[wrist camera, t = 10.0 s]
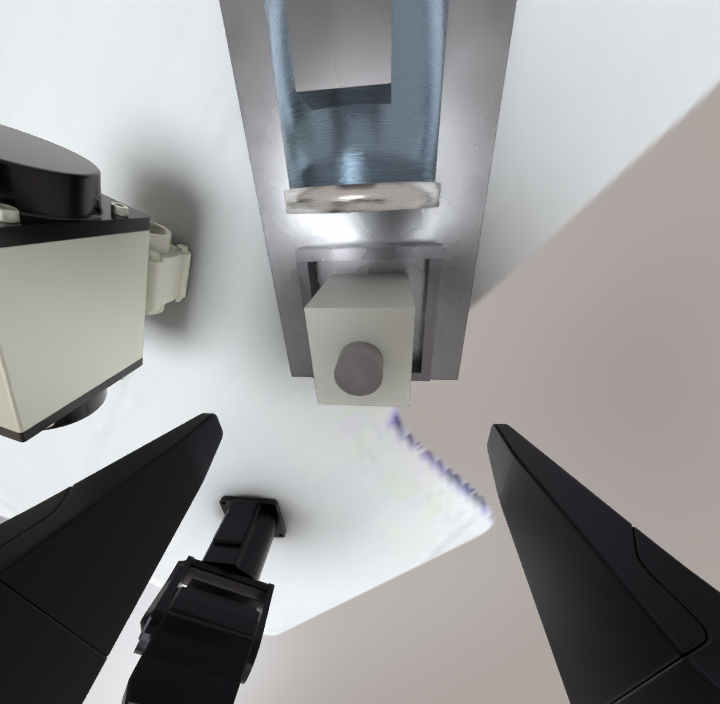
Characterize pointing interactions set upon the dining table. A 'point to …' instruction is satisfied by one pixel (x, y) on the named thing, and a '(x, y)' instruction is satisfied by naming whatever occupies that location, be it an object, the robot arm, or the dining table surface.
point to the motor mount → (372, 150)
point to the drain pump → (362, 339)
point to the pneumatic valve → (71, 285)
